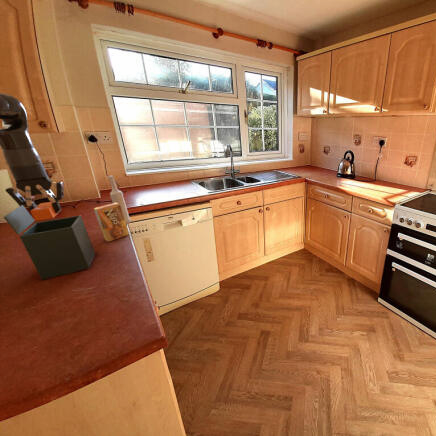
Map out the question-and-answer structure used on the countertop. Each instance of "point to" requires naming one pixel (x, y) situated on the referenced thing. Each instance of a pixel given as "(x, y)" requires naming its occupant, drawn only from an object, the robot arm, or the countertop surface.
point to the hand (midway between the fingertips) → (48, 213)
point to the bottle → (119, 199)
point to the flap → (19, 219)
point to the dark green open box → (59, 246)
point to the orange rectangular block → (43, 211)
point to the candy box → (111, 221)
